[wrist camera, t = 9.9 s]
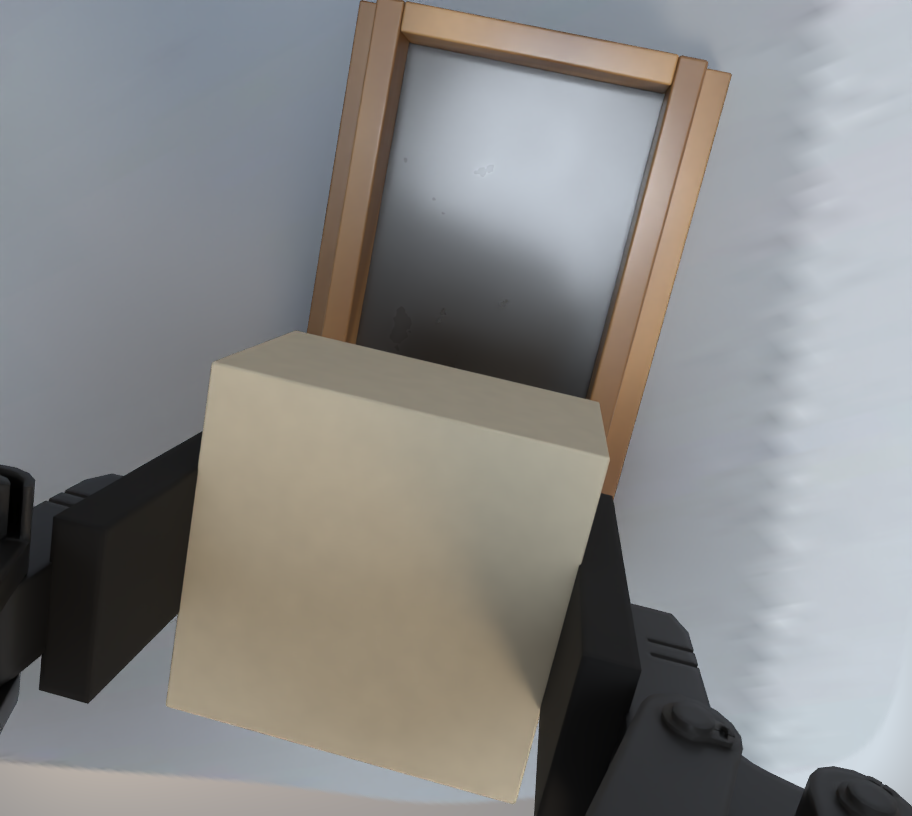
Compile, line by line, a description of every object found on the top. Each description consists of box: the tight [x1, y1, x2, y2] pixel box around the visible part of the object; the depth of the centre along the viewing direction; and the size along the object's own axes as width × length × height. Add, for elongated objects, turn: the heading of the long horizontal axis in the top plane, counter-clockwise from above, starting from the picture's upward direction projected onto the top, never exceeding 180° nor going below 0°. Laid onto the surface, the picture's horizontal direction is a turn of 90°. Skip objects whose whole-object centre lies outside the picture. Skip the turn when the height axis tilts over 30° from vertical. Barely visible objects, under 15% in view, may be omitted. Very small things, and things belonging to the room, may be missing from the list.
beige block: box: [166, 331, 610, 804], centre depth 15 cm, size 6×6×4 cm
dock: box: [307, 0, 732, 500], centre depth 24 cm, size 11×16×2 cm
